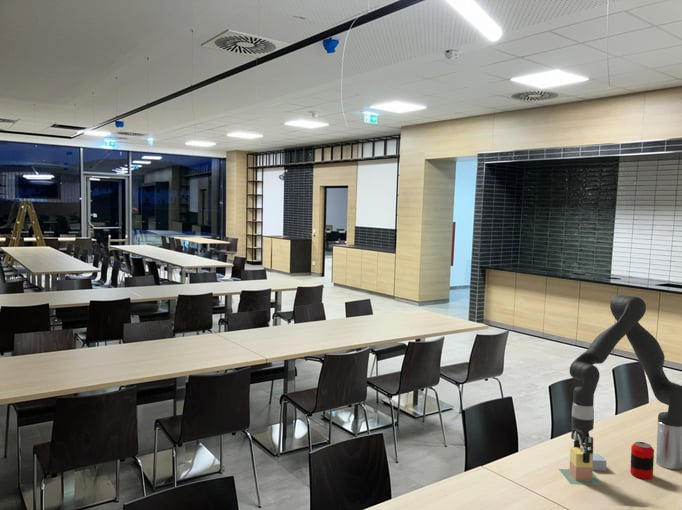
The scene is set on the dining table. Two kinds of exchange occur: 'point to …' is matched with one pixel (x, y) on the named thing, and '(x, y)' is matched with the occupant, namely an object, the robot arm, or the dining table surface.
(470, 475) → the dining table surface
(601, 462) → the slate brick
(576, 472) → the base brick
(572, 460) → the mustard brick
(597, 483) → the build plate
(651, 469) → the soda can
